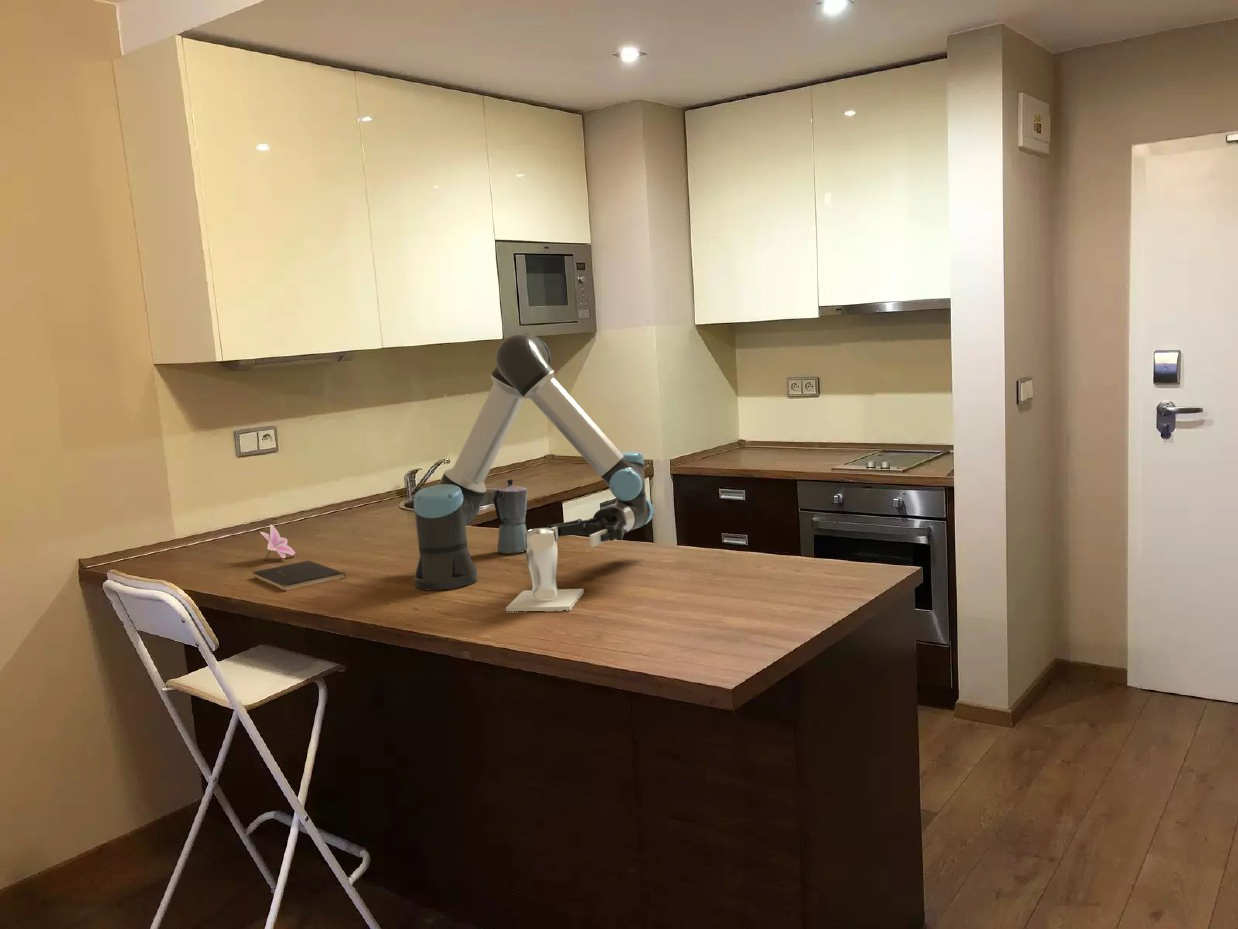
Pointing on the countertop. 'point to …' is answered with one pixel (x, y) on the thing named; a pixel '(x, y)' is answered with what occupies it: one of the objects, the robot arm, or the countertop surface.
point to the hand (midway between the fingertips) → (565, 539)
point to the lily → (277, 543)
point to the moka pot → (511, 517)
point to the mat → (562, 603)
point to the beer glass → (542, 563)
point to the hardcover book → (298, 574)
